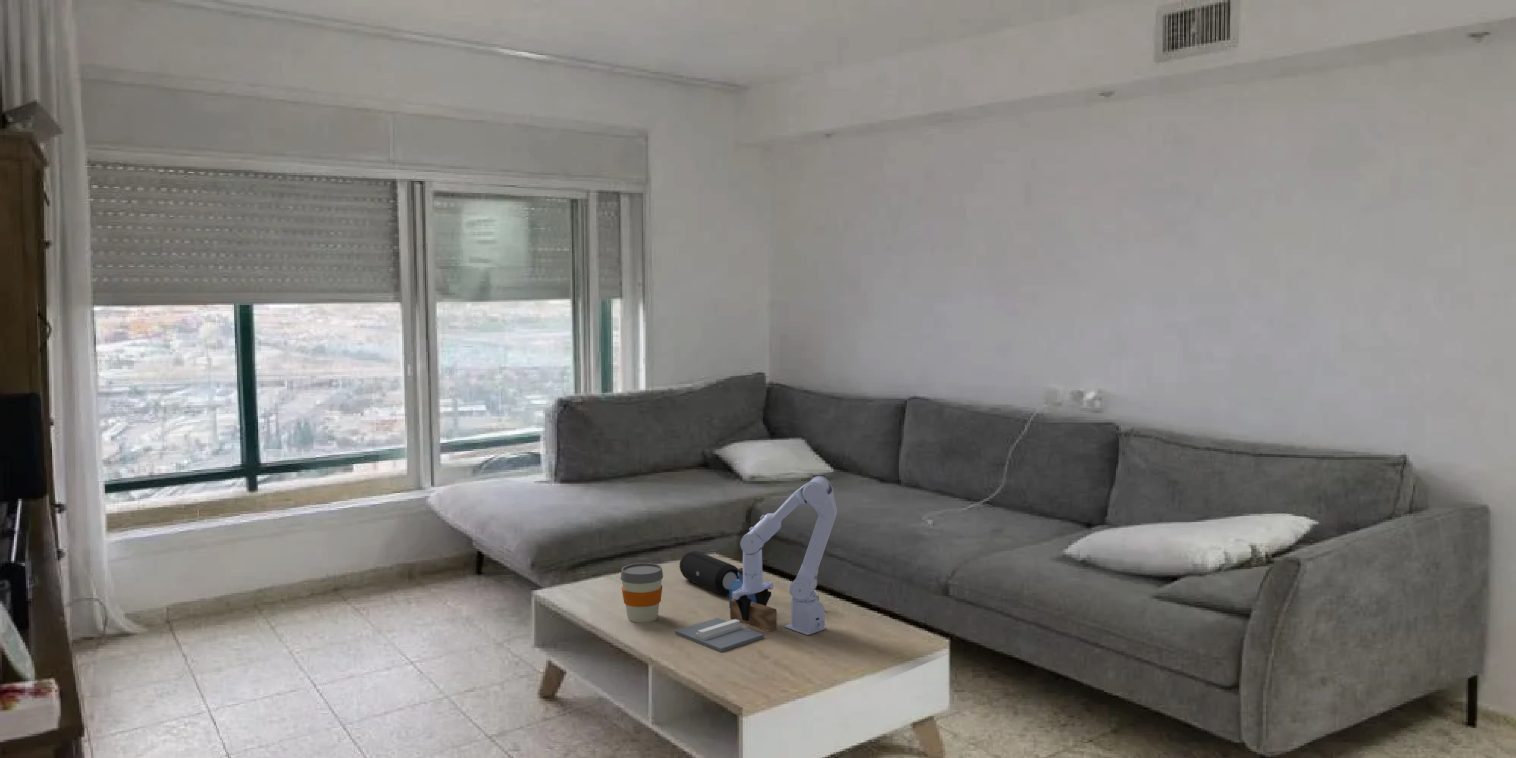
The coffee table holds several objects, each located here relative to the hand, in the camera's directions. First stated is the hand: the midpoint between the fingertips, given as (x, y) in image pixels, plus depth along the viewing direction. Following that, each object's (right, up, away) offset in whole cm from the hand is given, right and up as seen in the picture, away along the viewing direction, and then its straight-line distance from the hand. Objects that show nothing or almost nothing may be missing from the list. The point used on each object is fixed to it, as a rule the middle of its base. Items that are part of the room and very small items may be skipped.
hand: (753, 617), depth 305 cm
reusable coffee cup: (-33, -2, +6) cm, 34 cm away
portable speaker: (-14, +1, +36) cm, 39 cm away
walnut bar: (0, -2, 0) cm, 2 cm away
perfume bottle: (-3, 0, +15) cm, 15 cm away
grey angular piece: (+17, -1, +12) cm, 20 cm away
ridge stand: (-10, -3, -10) cm, 14 cm away
